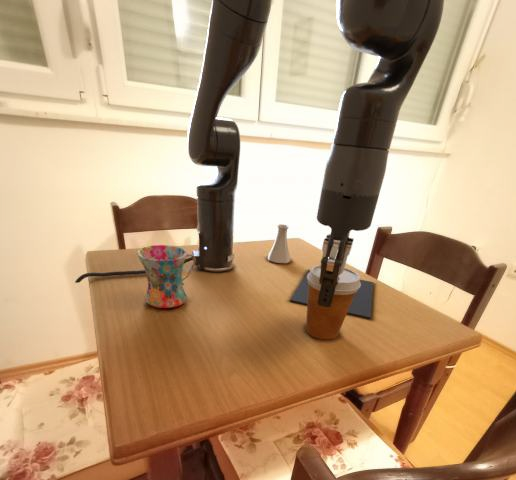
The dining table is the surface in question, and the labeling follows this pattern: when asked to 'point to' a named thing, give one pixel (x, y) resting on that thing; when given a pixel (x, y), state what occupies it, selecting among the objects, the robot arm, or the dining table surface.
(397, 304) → the dining table surface
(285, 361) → the dining table surface
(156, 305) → the mug
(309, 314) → the disposable coffee cup
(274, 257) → the flask
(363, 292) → the mat
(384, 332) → the dining table surface
